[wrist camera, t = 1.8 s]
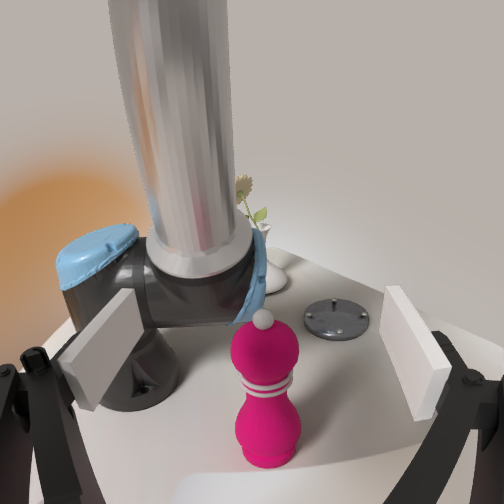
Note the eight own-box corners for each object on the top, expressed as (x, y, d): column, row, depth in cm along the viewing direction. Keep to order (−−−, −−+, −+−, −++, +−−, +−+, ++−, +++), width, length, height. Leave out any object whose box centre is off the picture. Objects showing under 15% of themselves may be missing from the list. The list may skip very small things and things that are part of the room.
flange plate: (304, 341, 53) (304, 333, 52) (303, 304, 64) (303, 297, 63) (373, 340, 51) (374, 332, 51) (362, 303, 62) (363, 297, 62)
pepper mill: (299, 472, 29) (310, 335, 22) (234, 470, 30) (210, 335, 23) (299, 426, 36) (305, 288, 29) (242, 425, 37) (226, 289, 30)
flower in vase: (271, 270, 79) (267, 167, 69) (297, 290, 69) (296, 173, 60) (221, 284, 74) (211, 174, 64) (242, 307, 64) (233, 180, 55)
